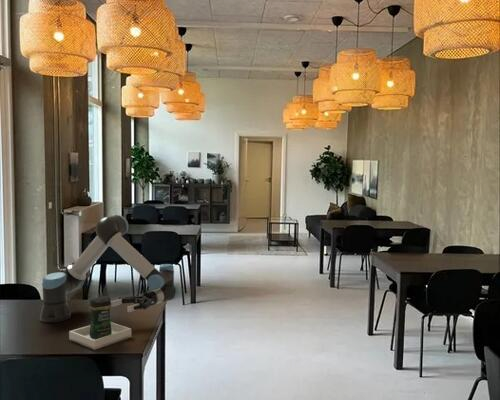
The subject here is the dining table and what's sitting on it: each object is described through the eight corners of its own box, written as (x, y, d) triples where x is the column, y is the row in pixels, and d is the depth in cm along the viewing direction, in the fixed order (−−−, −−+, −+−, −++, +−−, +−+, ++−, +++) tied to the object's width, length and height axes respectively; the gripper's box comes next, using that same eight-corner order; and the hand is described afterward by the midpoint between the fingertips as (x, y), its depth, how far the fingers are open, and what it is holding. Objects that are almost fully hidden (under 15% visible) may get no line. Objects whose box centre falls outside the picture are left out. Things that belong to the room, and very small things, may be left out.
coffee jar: (93, 341, 213) (92, 300, 212) (87, 336, 219) (86, 297, 218) (114, 336, 219) (113, 297, 218) (107, 331, 225) (106, 293, 224)
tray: (69, 339, 217) (69, 331, 217) (106, 328, 233) (105, 320, 233) (94, 349, 205) (94, 340, 205) (131, 337, 221) (131, 328, 221)
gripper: (169, 308, 236) (135, 319, 219) (137, 300, 251) (103, 309, 234) (169, 294, 235) (135, 303, 219) (137, 286, 251) (103, 295, 234)
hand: (118, 306), depth 227 cm, fingers open, 13 cm apart
